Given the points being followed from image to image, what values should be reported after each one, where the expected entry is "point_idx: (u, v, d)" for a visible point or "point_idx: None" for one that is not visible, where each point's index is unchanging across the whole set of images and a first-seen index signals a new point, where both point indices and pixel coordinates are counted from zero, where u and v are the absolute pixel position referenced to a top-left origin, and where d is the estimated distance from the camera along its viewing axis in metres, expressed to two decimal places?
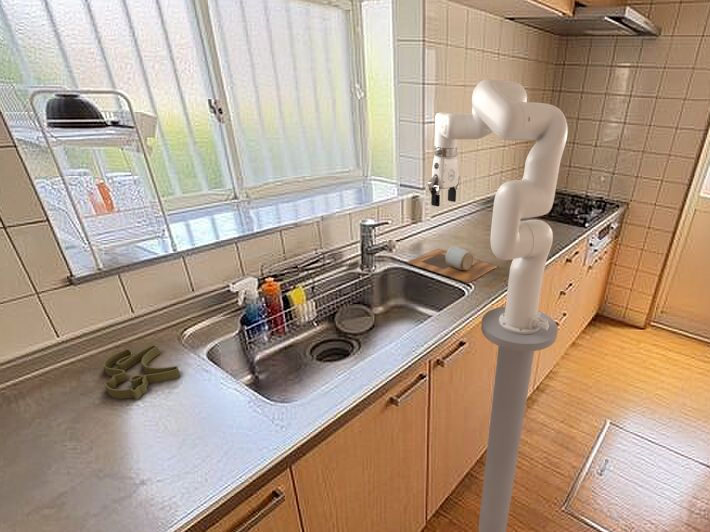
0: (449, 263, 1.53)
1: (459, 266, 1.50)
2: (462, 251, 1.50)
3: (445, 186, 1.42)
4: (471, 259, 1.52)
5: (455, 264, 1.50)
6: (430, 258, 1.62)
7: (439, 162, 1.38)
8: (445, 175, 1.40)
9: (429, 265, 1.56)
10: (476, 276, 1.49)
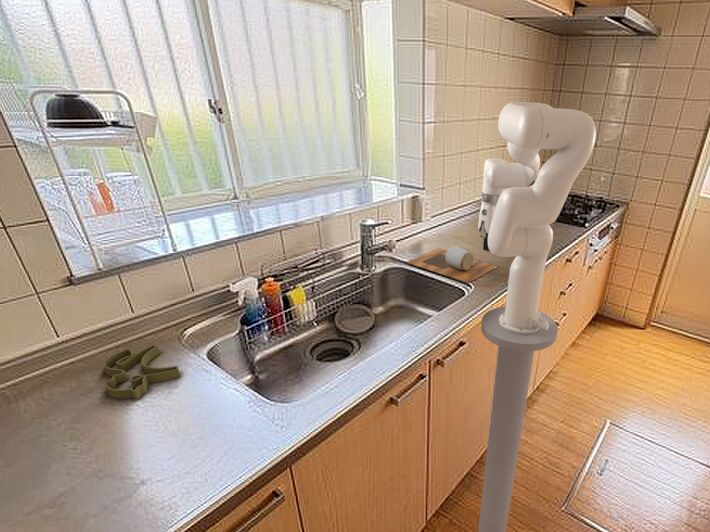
0: (449, 263, 1.53)
1: (459, 266, 1.50)
2: (462, 251, 1.50)
3: None
4: (471, 259, 1.52)
5: (455, 264, 1.50)
6: (430, 258, 1.62)
7: (487, 209, 1.35)
8: None
9: (429, 265, 1.56)
10: (476, 276, 1.49)
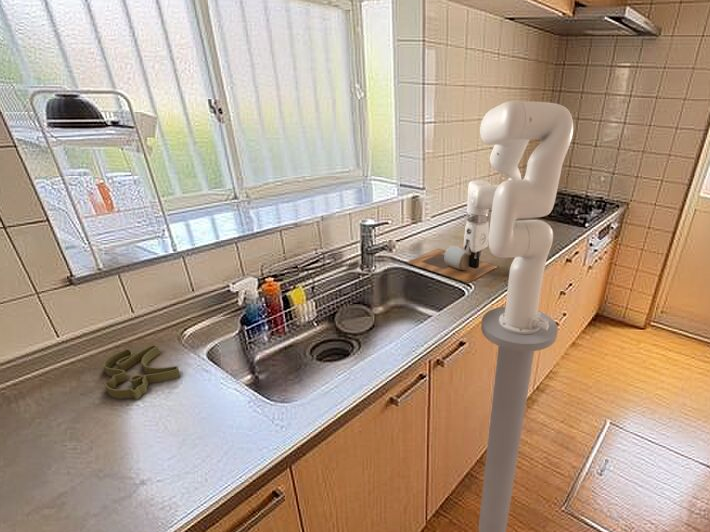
0: (448, 263, 1.53)
1: (458, 266, 1.50)
2: (461, 251, 1.50)
3: (477, 250, 1.45)
4: None
5: (454, 264, 1.51)
6: (430, 258, 1.62)
7: (472, 228, 1.41)
8: (477, 240, 1.43)
9: (429, 265, 1.56)
10: (476, 276, 1.49)
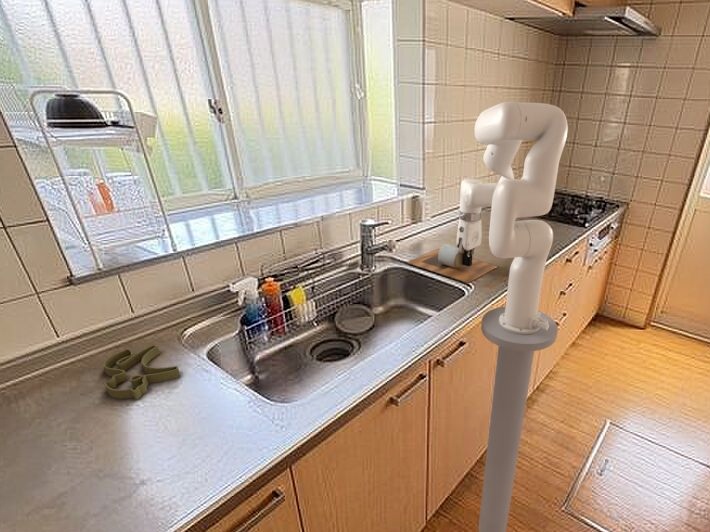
0: (442, 261, 1.54)
1: (453, 264, 1.51)
2: (455, 249, 1.51)
3: (469, 248, 1.47)
4: None
5: (448, 262, 1.52)
6: (430, 258, 1.62)
7: (464, 226, 1.43)
8: (469, 238, 1.45)
9: (429, 265, 1.56)
10: (476, 276, 1.49)
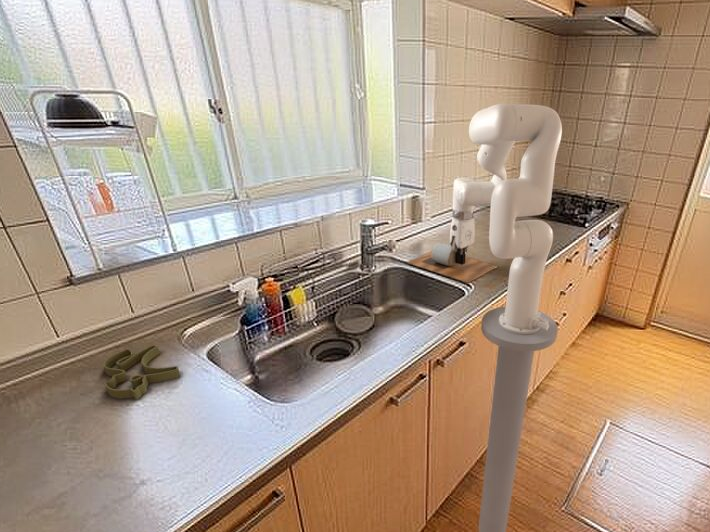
0: (435, 260, 1.55)
1: (446, 262, 1.53)
2: (448, 247, 1.53)
3: (462, 246, 1.48)
4: None
5: (442, 260, 1.53)
6: (430, 258, 1.62)
7: (457, 225, 1.44)
8: (462, 236, 1.46)
9: (429, 265, 1.56)
10: (476, 276, 1.49)
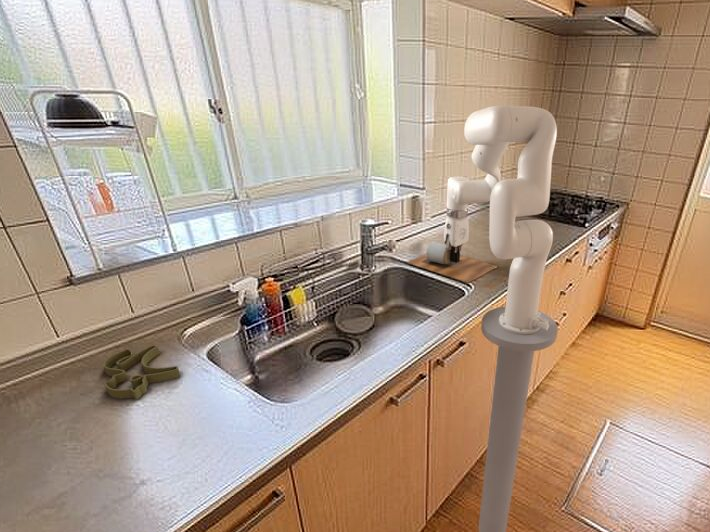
0: (430, 259, 1.56)
1: (441, 260, 1.54)
2: (443, 246, 1.54)
3: (457, 244, 1.49)
4: None
5: (437, 259, 1.54)
6: None
7: (451, 223, 1.45)
8: (456, 235, 1.48)
9: (429, 265, 1.56)
10: (476, 276, 1.49)
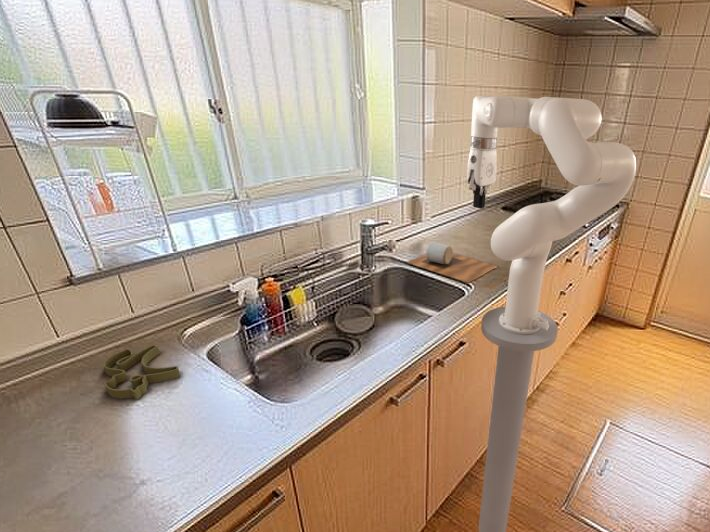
0: (430, 258, 1.56)
1: (441, 260, 1.54)
2: (443, 246, 1.54)
3: (483, 183, 1.21)
4: (451, 253, 1.56)
5: (437, 259, 1.54)
6: None
7: (477, 155, 1.17)
8: (483, 170, 1.19)
9: (429, 265, 1.56)
10: (476, 276, 1.49)
